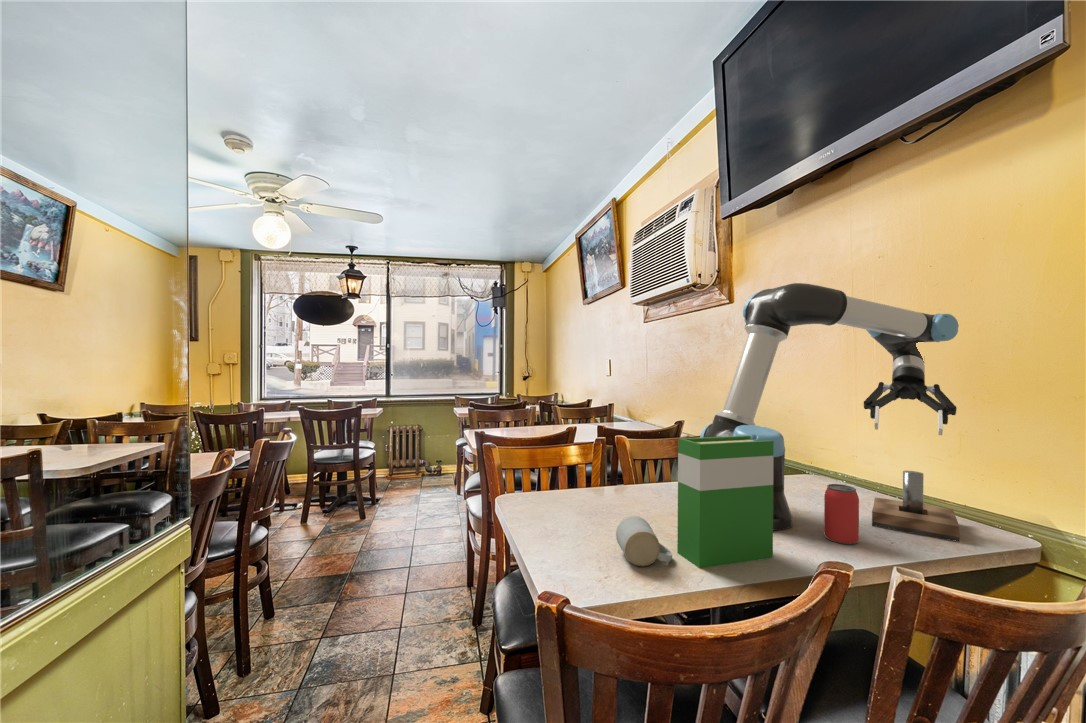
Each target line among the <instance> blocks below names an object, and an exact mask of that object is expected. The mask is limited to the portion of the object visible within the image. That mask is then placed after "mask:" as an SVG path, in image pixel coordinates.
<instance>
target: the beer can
mask: <svg viewBox="0 0 1086 723" xmlns="http://www.w3.org/2000/svg"><path fill="white" fill-rule="evenodd" d="M823 497H824V500H823V501H824V507H823V508H824V512H823V513H824V515H823V516H824V518H823V520H824V521H823V523H824V524H823V525H824V526H823V528H824V529H823V530H824V531H823V533H824V534H823V535H824V537H825V538H826V539H828V540H829V541H832V542H833V543H838V544H843V545H855V544H857V543H859V540H860V526H859V525H860V498H859V495H858V492H857V488H856V487H854V486H851V485H847V484H841V483H839V484H838V483H830V484H827V487H826V490H825V492H824V496H823Z"/></svg>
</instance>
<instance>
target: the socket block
mask: <svg viewBox="0 0 1086 723" xmlns="http://www.w3.org/2000/svg"><path fill="white" fill-rule="evenodd" d="M871 525H872V526H873V527H878V528H882V529H883V528H884V529H888V530H893V531H898V532H899V531H900V532H904V533H905V532H906V533H910V534H916V535H920V536H925V535H926V537H931V536H932V537H931V538H936V537H938V538H937V539H941V538H944V539H943V540H947V539H950V540H949V541H952V540H956V541H955V542H958V541H959V542H960V524H959V522H958V519H957V516H956V514H955V510H954V509H953V508H947V507H940V506H936V505H935V506H934V505H928V504H923V515H922V514H915V513H909V512H903V500H895V499H887V498H882V497H877V496H876V497H874V501H873V506H872V511H871Z"/></svg>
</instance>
